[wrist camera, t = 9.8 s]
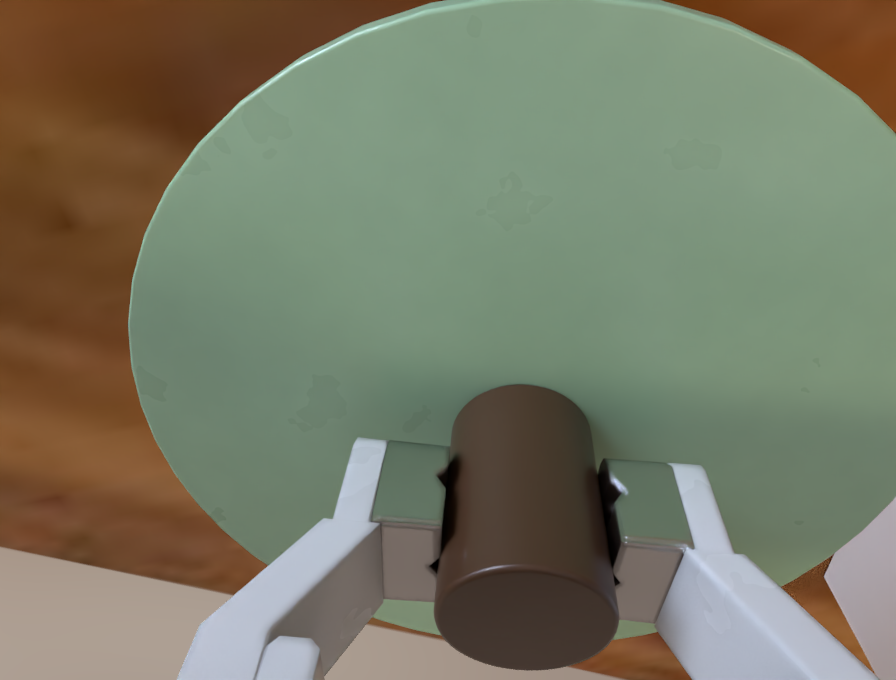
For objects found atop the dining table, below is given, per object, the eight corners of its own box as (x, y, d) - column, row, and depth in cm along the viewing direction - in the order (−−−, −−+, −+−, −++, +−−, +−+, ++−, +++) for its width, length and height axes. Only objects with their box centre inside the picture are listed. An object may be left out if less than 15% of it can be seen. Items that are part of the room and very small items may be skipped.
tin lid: (82, 445, 14) (-81, 658, 10) (373, -299, 7) (198, -545, 3) (575, 658, 17) (595, 875, 13) (1112, 317, 10) (1476, 573, 6)
